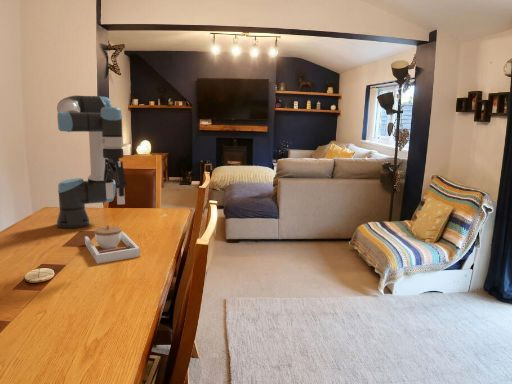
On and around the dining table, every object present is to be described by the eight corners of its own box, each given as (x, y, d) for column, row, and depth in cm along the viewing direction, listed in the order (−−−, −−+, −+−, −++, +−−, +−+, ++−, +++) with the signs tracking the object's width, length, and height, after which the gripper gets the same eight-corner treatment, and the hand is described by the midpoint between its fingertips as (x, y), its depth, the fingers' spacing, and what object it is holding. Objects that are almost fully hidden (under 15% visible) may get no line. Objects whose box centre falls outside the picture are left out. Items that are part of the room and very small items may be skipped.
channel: (85, 244, 171) (84, 236, 171) (123, 238, 180) (123, 231, 180) (97, 263, 150) (96, 255, 149) (140, 256, 159) (139, 248, 158)
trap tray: (96, 254, 159) (95, 251, 159) (129, 249, 166) (129, 246, 166) (100, 261, 152) (100, 257, 152) (134, 255, 160) (134, 251, 159)
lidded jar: (113, 251, 163) (112, 230, 161) (90, 249, 165) (88, 228, 163) (126, 243, 173) (125, 223, 172) (104, 241, 175) (103, 221, 174)
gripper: (93, 146, 160) (96, 197, 164) (113, 150, 140) (116, 208, 144) (112, 145, 164) (114, 195, 168) (134, 149, 145) (136, 205, 149)
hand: (115, 201), depth 156 cm, fingers open, 13 cm apart
